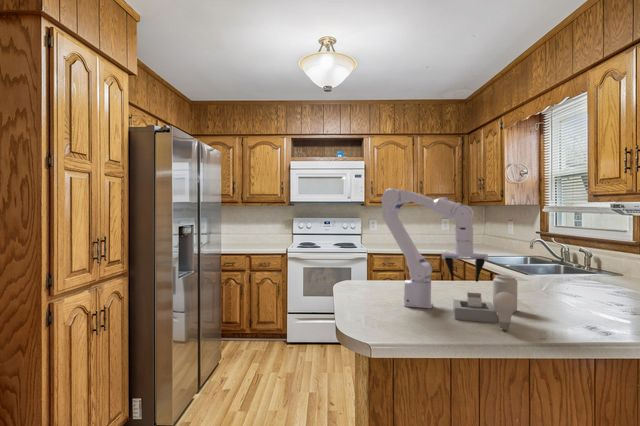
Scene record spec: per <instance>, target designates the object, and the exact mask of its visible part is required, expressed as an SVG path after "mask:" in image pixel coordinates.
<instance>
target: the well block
mask: <svg viewBox="0 0 640 426" xmlns="http://www.w3.org/2000/svg"><path fill="white" fill-rule="evenodd" d="M452 301H453V302H452V305H453V306H452V311H453V316H454V320H460V321H462V320H463V321H472V322H482V323H493V324H494V323H495V324H497V322H498V320H497V319H498V313H497V311H496V309H495V308H494V306H493V302H491V301H490V302H489V301H482V309H479V308H467V299H466V300H465V299H454V298H453V300H452Z"/></svg>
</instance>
